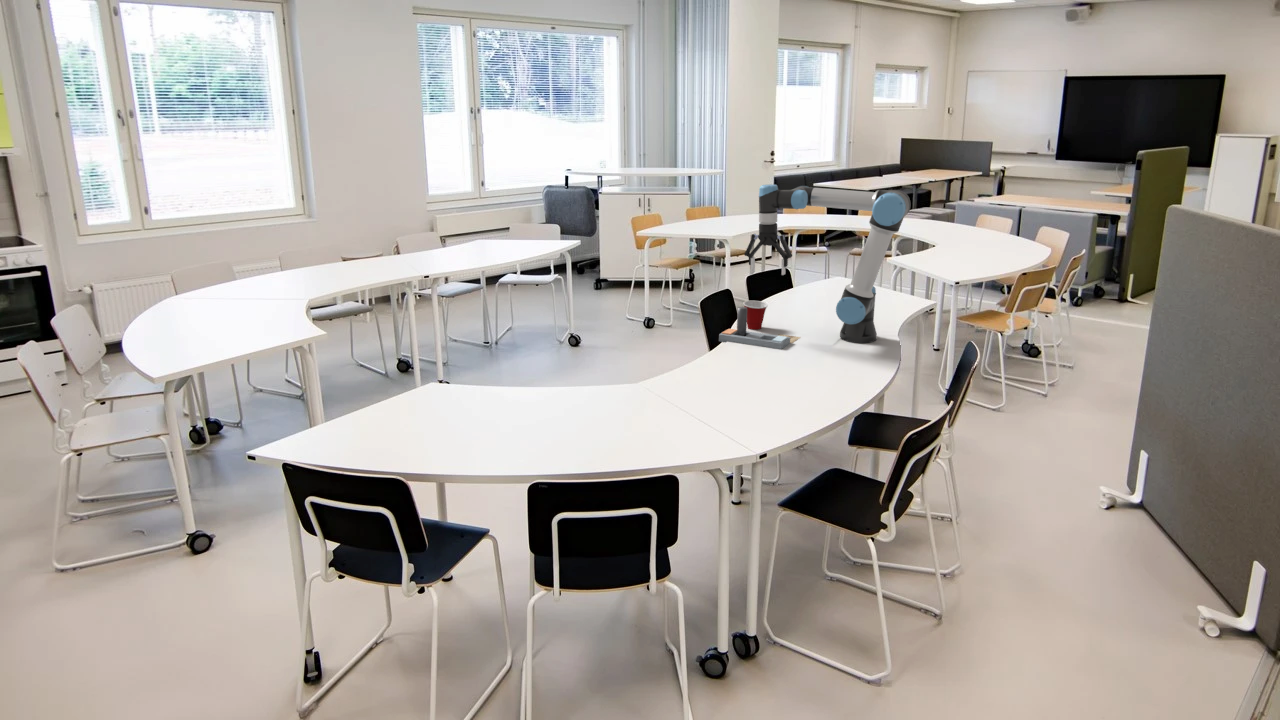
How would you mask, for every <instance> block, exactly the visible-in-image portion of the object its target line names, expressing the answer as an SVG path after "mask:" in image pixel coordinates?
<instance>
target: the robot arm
mask: <svg viewBox="0 0 1280 720" xmlns="http://www.w3.org/2000/svg"><path fill="white" fill-rule="evenodd" d="M758 190H759V191H758V192H759V193H758V222H759V224H758V234H757V233H753V234H751V238H750V241H749V243H748V245H747V248H746V249H745V252H744V254H743V255H744V256H745V257H748V265H749V266H750V274H754V273H755V271H756V268H755V267H756V260H755V259H756V258H755V254H756V253H757V252H758V251H759V250H760V248H761V247H762V246H766V247H767V246H768V247H769V246H770V247H771V246H773V248H775V250H776V251H777V252H778V254H779V255H780V257H782V259H781V276H784V275H786V268H787V267H788V266H789V264H788V263H789V262H788V261H789V259H791V258H792V257H793V253H792V252H791V249H790V248H789V247H790V246H789V244H788V243H787V241H786V235H785V234H781V235H778V223H777V222H778V209H779V210H780V209H786V210H801V209H803V210H804V209H806V208H807V206H809V207H820V208H821V207H822V208H832V209H841V210H842V209H844V210H854V211H865V212H872V213H871V217H870V219H869V222H868V223H869V226H870V230H869V234H868V236H867V238H866V241H865V243H864V247H863V250H862V252H861V255H860V257H859V260H858V261H857V262H858V263H857V266H856V268H855V271H854V274H853V276H852V279H851V282H850V283H849V284H847V285H845V287H844V289H843V292H842V296H841V297H840V299H839V301H838V302H837V303H836V306H835V313H836V316H837V317H838V319H839V320H840V321H841V322H842V323H843V324H842V326H841V329H840V331H839V338H840V339H841V340H842V341H846V342H849V343H856V344H857V343H858V344H864V343H872V342H873V343H874V342H875V341H876V340H877V337H878V336H877V335H878V334H877V330H876V326H875V320H874V318H875V306H876V294H877V293H876V290H877V289H876V287H875V286H874V285H875V282H876V279H877V277H878V275H879V272H880V269H881V267H882V264H883V261H884V258H885V256H886V254H887V251H888V248H889V246H890V243H891V241H892V238H893V236H894V235H895V234H896V233H898V232H899V231H900V227H901V226H902V223H903V221H904V218H905V217H906V216H907V215H908V213H909V212H910V210H911V204H912V203H911V200H910V197H909V195H908V194H907V193H905V192H904V191H902V190H899V189H893V190H892V189H888V190H887V189H886V190H885V189H877V190H876V191H875V192H874V191H865V190H863V191H862V190H849V189H836V188H824V187H823V188H822V187H811V186H810V187H809V186H808V185H800V186H797V187H795V188H793V189H779V187H778V185H777V184H772V183H771V184H761V185H760V187H759V189H758ZM756 240H759V242H758V243H757V244H756V246H754V244H755V242H756ZM778 241H780V244H781V246H782V247H781V246H780V244H779V242H778ZM753 247H754V248H753ZM751 250H752V251H751Z"/></svg>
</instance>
